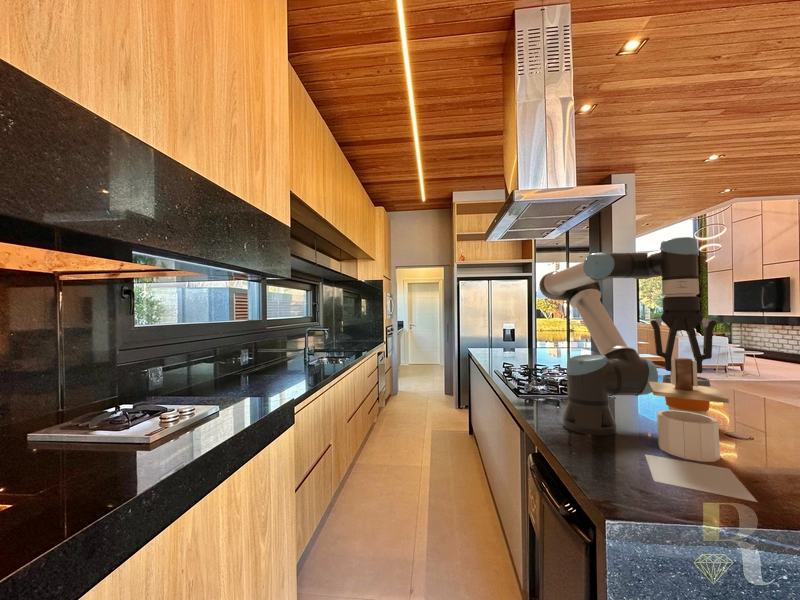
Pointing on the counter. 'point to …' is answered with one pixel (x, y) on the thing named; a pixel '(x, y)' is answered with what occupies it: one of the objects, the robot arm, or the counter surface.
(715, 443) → the ceramic bowl
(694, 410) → the reusable coffee cup
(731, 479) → the grey mat
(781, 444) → the counter surface
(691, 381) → the oak cover
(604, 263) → the robot arm
